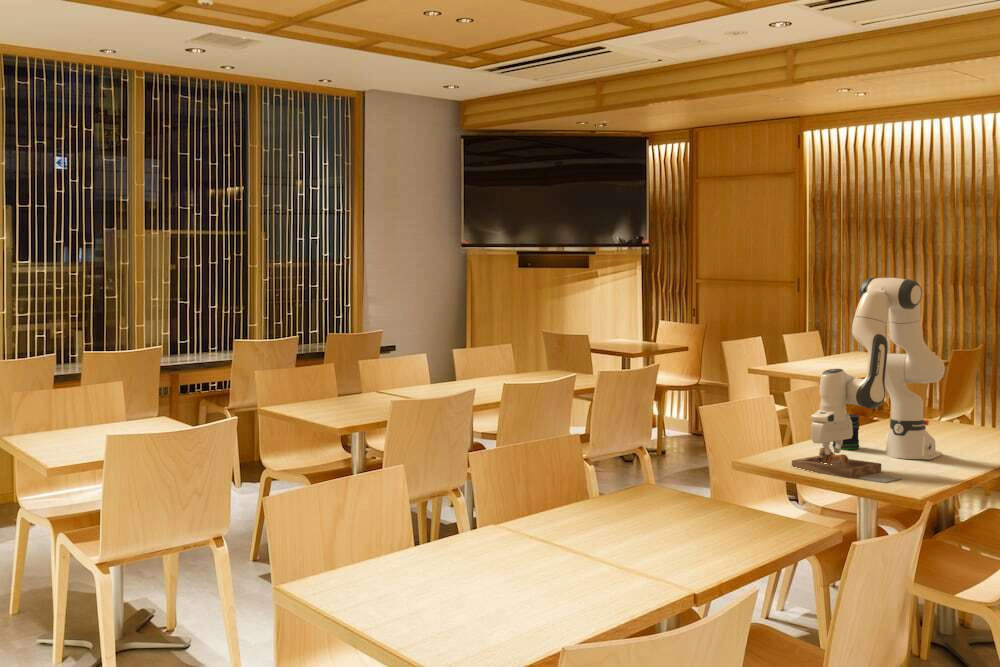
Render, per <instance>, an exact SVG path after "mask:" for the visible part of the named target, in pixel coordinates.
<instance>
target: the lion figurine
mask: <svg viewBox="0 0 1000 667" xmlns="http://www.w3.org/2000/svg"><path fill="white" fill-rule="evenodd" d="M818 456H820V457H821V458H822V459H823V460H824V461H825V462H827V464H830V465H831V462H832V463H839V462H840V461H841V462H842V464H843V466H844V467H845V466H846V467H848V465H849V467H850V464H849V459H850V458H849V457H848V456H847V455H846V454H844V453H843V454H842V453H841V454H836V453H834V451H832V450H831V454H830V455H826V454H825V449H824V447H821V448H820V449H819V452H818ZM846 460H847V462H848V464H847V463H846ZM850 468H851V467H850Z"/></svg>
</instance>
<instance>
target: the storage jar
mask: <svg viewBox="0 0 1000 667" xmlns="http://www.w3.org/2000/svg"><path fill="white" fill-rule="evenodd" d="M848 414H849V416H850V419H851V421H852V427H853V436H852V438H850V439H845V440H843V443H842V446H841V451H857V450H859V448H860V444H859V443H860V440H859V430H860V422H859V421H860V419H859V418H860V415H858V414H851V413H848ZM835 446H836V442H835V441H833V442H832V447H833V448H835Z"/></svg>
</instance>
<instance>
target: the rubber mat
mask: <svg viewBox="0 0 1000 667" xmlns="http://www.w3.org/2000/svg"><path fill="white" fill-rule="evenodd" d="M857 479H858V480H863V481H871V482H877V483H882V484H887V483H888V484H889V483H891V482H897V481H900V480H901V481H902V480H903V478H902V477H896V476H890V475H883V474H879V473H875V474H870V475H865V476H861V477H857Z"/></svg>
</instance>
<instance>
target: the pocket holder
mask: <svg viewBox="0 0 1000 667" xmlns="http://www.w3.org/2000/svg"><path fill="white" fill-rule="evenodd" d="M848 459H849V464H850V467H851V468H850V467H849V465H848V467H846V466H845V467H844V466H843V464H842V462H841V461H840V462H839V463H832V462H831V464H832V465H830V464H824V463H827V462H825V461H824V460H823V459H822V458H821V457H820V456H819V455H816V456H815V455H814V456H808V457H802V458H798V459H792V460H791V467H792V466H793V467H797V468H801V469H805V470H804V471H806V470H809V471H808V472H810V471H813V472H812V473H815V472H819V473H818V474H822V473H823V474H822V475H827V476H828V475H829V476H835V477H840V478H841V477H843V478H848V479H855V478H858V477H863V476H868V475H872V474H879V473H882V463H879V462H874V461H873V462H872V461H865V460H860V459H859V460H858V459H852V458H851V459H850V458H848ZM821 462H822V463H821ZM846 463H847V464H848V462H847V460H846ZM797 468H796V469H797ZM801 469H800V470H801Z"/></svg>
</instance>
